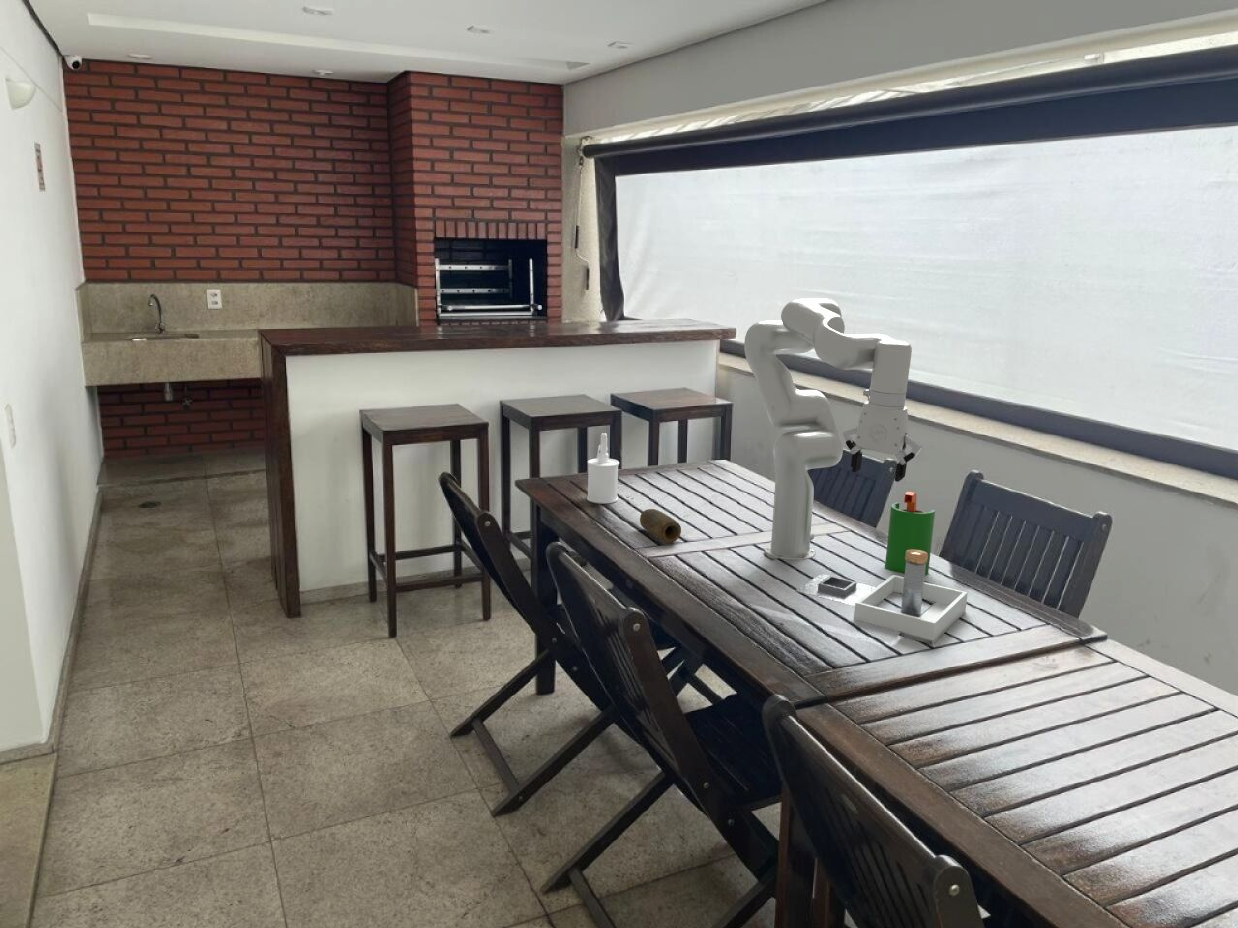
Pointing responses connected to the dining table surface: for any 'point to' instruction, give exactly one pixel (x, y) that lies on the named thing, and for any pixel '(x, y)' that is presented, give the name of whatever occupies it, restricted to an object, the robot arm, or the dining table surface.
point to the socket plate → (836, 589)
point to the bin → (918, 628)
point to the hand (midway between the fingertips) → (877, 475)
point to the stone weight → (660, 525)
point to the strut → (913, 582)
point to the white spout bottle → (602, 476)
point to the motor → (908, 533)
